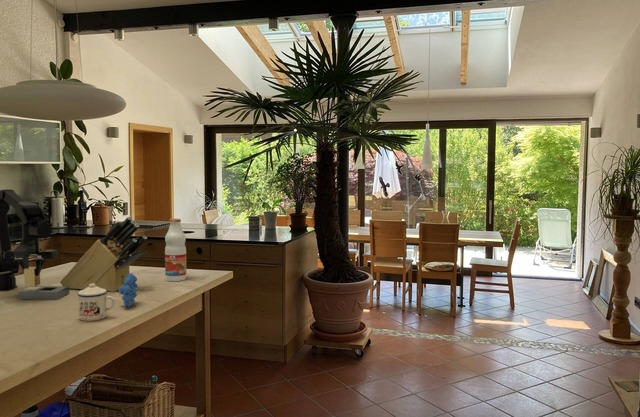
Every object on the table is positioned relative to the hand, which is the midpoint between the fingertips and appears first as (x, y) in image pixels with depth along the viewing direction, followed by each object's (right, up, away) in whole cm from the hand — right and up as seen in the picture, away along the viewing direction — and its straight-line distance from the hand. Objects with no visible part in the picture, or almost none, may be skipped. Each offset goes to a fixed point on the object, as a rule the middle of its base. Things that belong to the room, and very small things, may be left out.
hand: (32, 275), depth 201 cm
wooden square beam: (0, -4, 0) cm, 4 cm away
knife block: (+23, -8, +15) cm, 28 cm away
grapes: (+42, -10, -12) cm, 45 cm away
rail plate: (+5, -8, +1) cm, 9 cm away
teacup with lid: (+38, -11, -27) cm, 47 cm away
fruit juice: (+48, -6, +33) cm, 58 cm away
